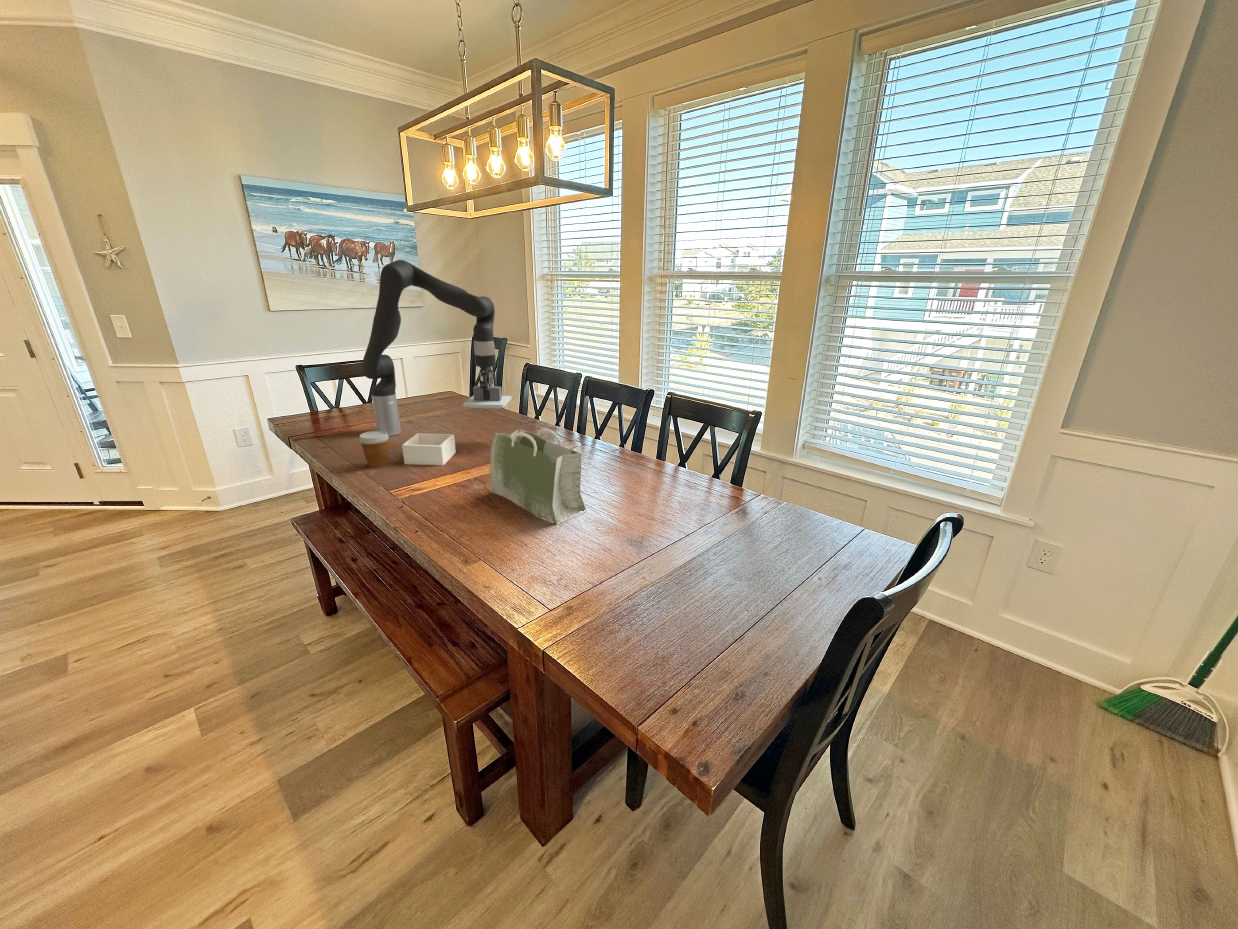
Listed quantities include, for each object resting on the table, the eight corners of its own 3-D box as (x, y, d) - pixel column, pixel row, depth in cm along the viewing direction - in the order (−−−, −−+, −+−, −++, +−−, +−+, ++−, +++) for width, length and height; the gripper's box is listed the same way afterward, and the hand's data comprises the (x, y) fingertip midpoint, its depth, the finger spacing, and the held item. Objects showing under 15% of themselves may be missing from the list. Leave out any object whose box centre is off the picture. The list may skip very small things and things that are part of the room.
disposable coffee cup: (357, 468, 172) (351, 436, 168) (379, 460, 180) (374, 429, 176) (377, 473, 169) (372, 440, 164) (398, 464, 177) (394, 432, 173)
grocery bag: (589, 510, 147) (590, 437, 139) (555, 526, 137) (553, 448, 129) (523, 480, 167) (520, 415, 158) (488, 492, 157) (483, 423, 148)
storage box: (419, 453, 188) (417, 433, 186) (455, 454, 189) (454, 434, 186) (404, 466, 175) (401, 445, 173) (443, 467, 175) (441, 446, 173)
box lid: (474, 399, 196) (473, 382, 193) (511, 400, 196) (510, 383, 193) (463, 408, 182) (461, 390, 179) (503, 409, 182) (502, 391, 179)
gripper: (479, 350, 188) (482, 394, 194) (469, 355, 175) (472, 402, 181) (499, 350, 188) (501, 394, 194) (490, 356, 175) (493, 403, 181)
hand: (487, 398), depth 188 cm, fingers closed on box lid, 3 cm apart
